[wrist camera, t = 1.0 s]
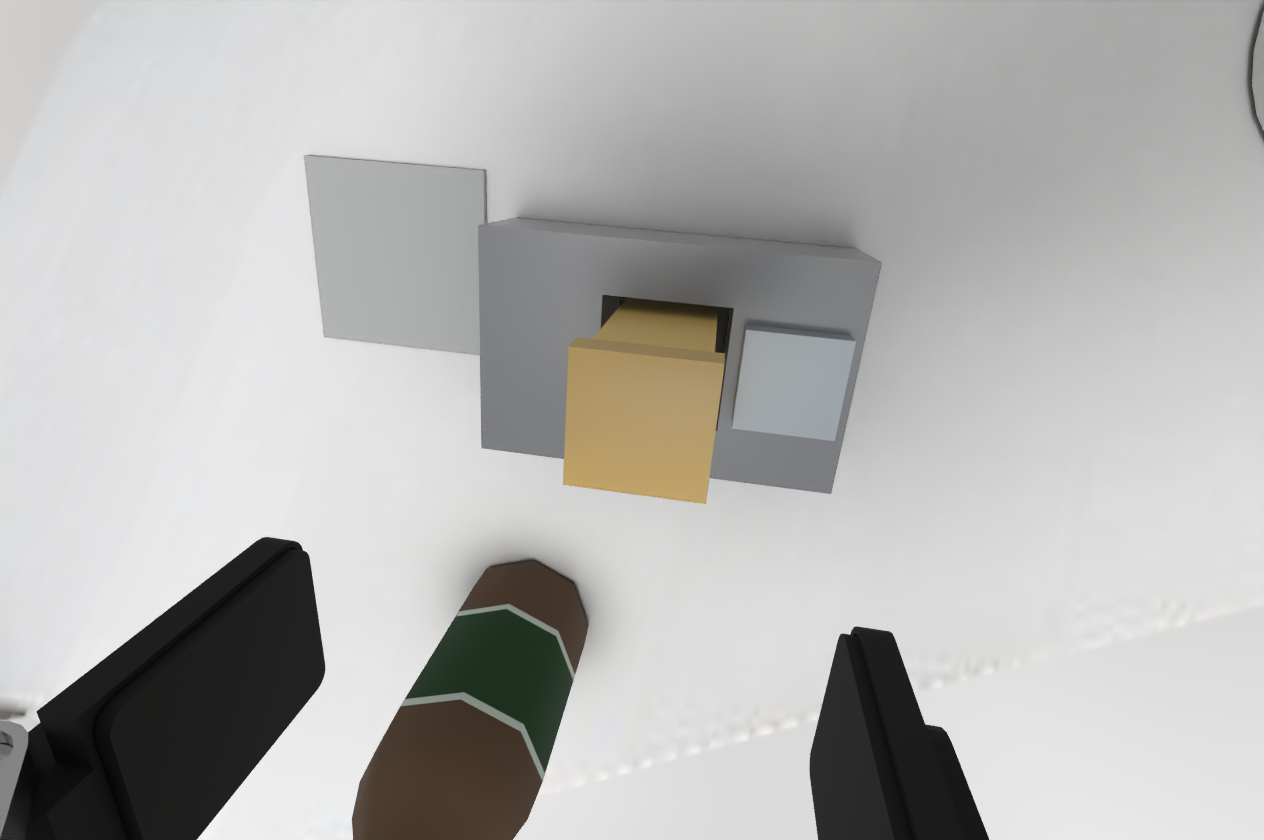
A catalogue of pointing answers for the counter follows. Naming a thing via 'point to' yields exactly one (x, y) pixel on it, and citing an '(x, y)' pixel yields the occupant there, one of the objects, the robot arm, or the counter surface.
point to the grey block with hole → (685, 273)
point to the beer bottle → (479, 715)
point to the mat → (397, 251)
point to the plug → (645, 401)
